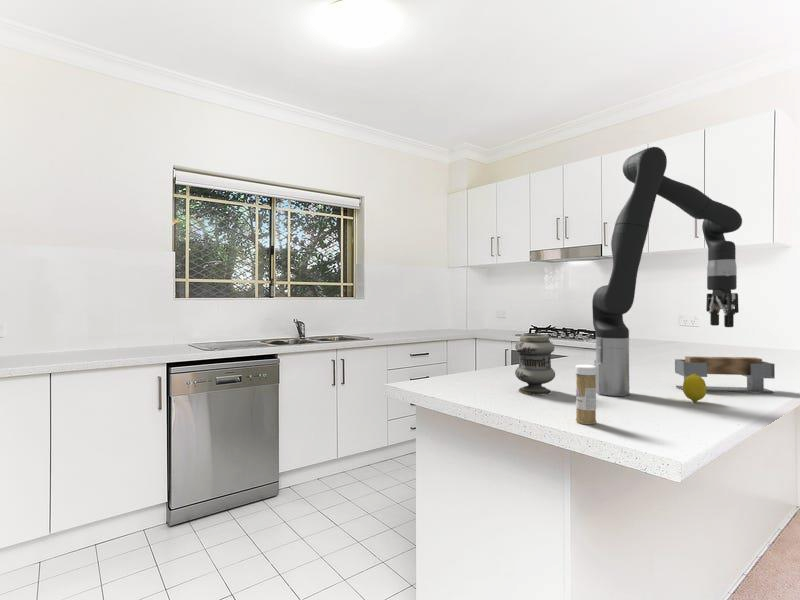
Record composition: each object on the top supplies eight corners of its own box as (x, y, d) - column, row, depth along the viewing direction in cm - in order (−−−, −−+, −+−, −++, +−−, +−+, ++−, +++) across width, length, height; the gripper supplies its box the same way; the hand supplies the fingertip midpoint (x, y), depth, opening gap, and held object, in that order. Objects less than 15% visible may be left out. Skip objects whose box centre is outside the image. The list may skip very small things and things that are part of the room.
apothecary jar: (515, 395, 135) (515, 335, 135) (514, 387, 147) (514, 332, 147) (557, 396, 133) (557, 336, 133) (553, 388, 145) (552, 333, 145)
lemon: (699, 400, 127) (699, 372, 127) (710, 404, 121) (710, 375, 121) (678, 399, 127) (678, 371, 127) (689, 404, 122) (689, 375, 122)
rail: (690, 373, 140) (689, 357, 140) (685, 371, 144) (685, 356, 144) (762, 375, 136) (762, 359, 136) (755, 373, 140) (755, 357, 140)
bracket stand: (684, 391, 139) (683, 362, 139) (674, 386, 146) (674, 359, 146) (775, 393, 134) (775, 363, 134) (761, 389, 141) (760, 360, 141)
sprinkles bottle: (572, 420, 107) (571, 364, 107) (590, 419, 108) (590, 363, 108) (581, 425, 103) (581, 367, 103) (600, 424, 103) (600, 366, 103)
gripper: (697, 276, 148) (697, 324, 148) (720, 273, 134) (720, 327, 134) (723, 275, 146) (723, 325, 146) (748, 273, 132) (748, 328, 132)
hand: (721, 326), depth 140 cm, fingers open, 8 cm apart
